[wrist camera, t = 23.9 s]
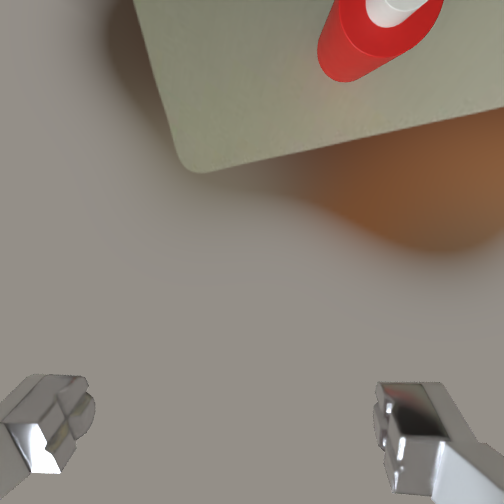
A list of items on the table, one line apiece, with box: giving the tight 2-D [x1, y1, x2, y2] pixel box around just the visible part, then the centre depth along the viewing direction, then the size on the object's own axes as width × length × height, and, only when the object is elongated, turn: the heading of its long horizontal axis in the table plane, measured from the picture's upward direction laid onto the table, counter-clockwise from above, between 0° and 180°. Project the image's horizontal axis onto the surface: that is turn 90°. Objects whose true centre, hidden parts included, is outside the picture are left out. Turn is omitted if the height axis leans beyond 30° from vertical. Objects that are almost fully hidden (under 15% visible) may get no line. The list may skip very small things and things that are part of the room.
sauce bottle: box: [317, 0, 444, 82], centre depth 22 cm, size 6×6×16 cm
